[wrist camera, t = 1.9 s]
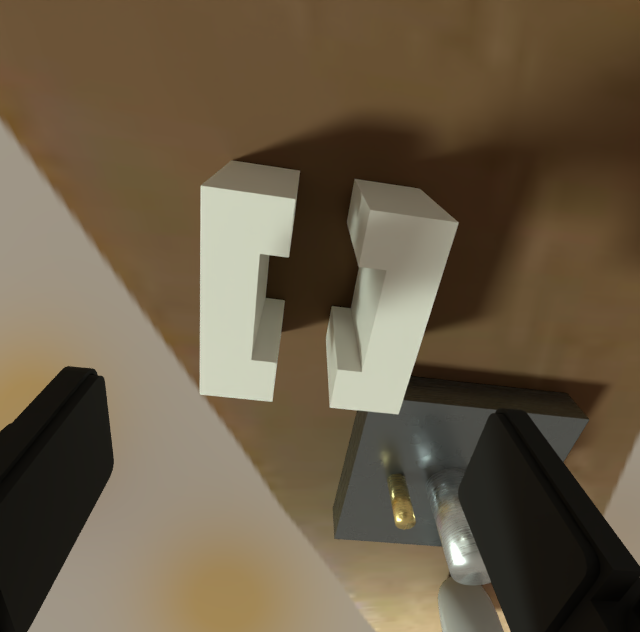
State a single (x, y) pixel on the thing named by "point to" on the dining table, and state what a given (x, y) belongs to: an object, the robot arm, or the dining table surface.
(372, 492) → the post base
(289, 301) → the dining table surface
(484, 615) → the donut
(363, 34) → the dining table surface
